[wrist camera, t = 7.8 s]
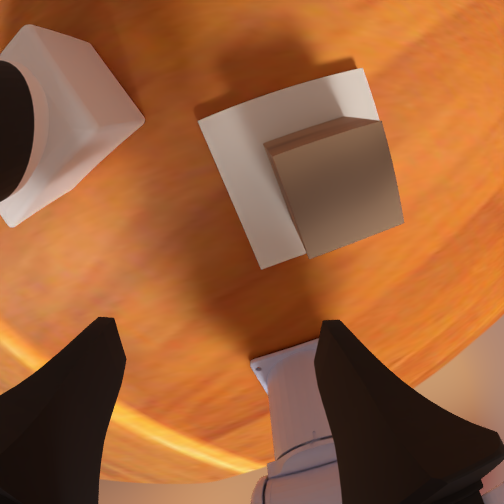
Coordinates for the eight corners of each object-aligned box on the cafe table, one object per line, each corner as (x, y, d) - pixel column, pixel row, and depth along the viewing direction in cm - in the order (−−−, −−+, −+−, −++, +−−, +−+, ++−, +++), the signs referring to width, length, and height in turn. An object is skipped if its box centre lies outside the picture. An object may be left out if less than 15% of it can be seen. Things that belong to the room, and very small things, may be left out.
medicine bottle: (90, 41, 13) (-50, 5, 3) (148, 121, 16) (21, 151, 5) (21, 116, 15) (-116, 154, 4) (71, 191, 18) (-53, 284, 7)
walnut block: (366, 193, 18) (404, 223, 13) (291, 220, 19) (309, 259, 14) (344, 116, 16) (381, 120, 11) (262, 143, 16) (272, 156, 12)
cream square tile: (396, 213, 19) (401, 217, 19) (260, 263, 21) (261, 269, 20) (357, 69, 15) (362, 67, 14) (199, 120, 16) (197, 121, 16)
